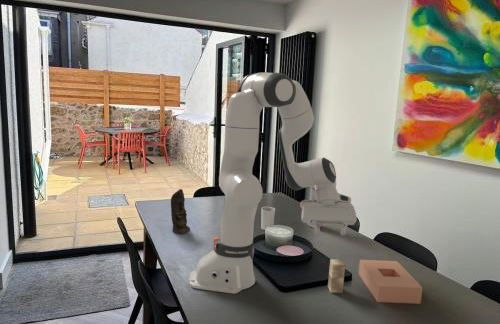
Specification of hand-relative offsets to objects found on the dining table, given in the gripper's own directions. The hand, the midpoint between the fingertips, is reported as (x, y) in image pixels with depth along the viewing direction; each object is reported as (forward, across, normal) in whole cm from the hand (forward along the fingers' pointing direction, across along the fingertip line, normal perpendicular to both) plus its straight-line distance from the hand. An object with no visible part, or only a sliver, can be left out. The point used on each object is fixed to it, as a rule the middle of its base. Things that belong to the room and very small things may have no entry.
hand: (330, 233), depth 137 cm
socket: (+17, +19, +4) cm, 26 cm away
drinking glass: (-22, -19, +44) cm, 53 cm away
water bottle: (-27, +6, +49) cm, 56 cm away
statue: (-16, -60, +38) cm, 73 cm away
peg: (+19, 0, +2) cm, 20 cm away
